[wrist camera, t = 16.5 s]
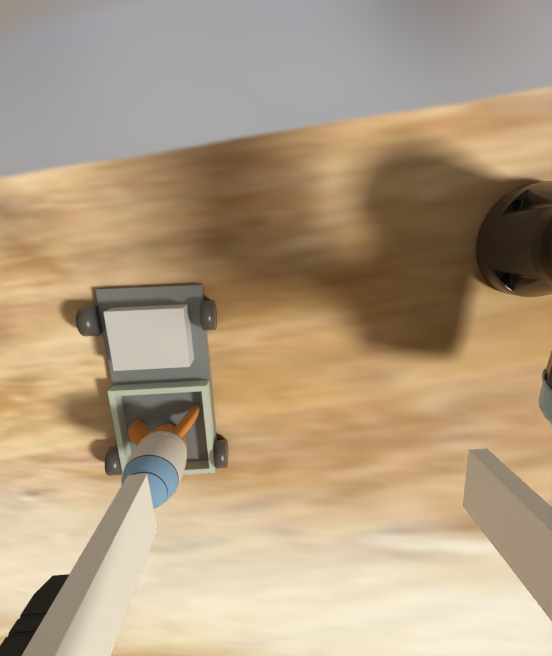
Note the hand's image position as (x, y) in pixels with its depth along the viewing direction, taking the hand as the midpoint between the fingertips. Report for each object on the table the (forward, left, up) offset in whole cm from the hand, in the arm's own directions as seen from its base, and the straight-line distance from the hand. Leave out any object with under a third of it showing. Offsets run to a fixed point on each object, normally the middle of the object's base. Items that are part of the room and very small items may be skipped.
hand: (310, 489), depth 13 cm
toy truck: (+17, +9, -34) cm, 39 cm away
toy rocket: (+17, +16, -33) cm, 41 cm away
